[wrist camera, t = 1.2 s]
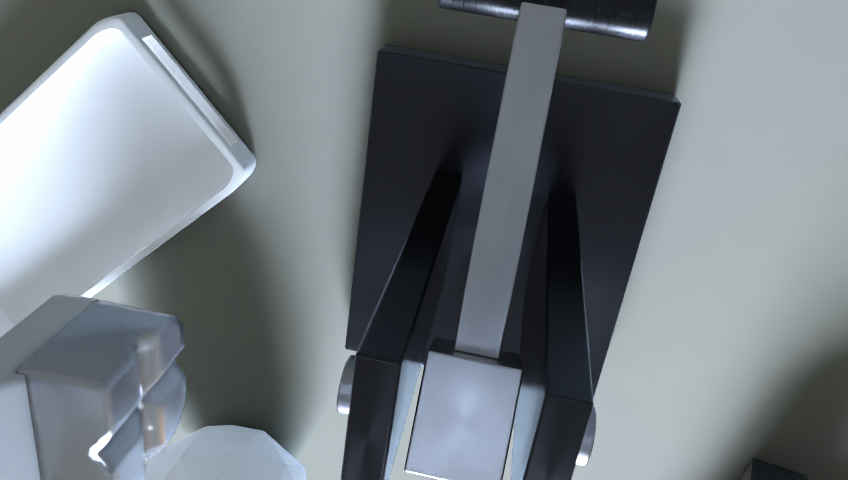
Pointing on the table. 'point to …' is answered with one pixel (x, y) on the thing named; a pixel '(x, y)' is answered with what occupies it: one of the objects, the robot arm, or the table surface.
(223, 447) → the geometric ball
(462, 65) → the black lever stand
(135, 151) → the phone case
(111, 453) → the robot arm
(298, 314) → the table surface
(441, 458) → the tap lever
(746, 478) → the pan flute
